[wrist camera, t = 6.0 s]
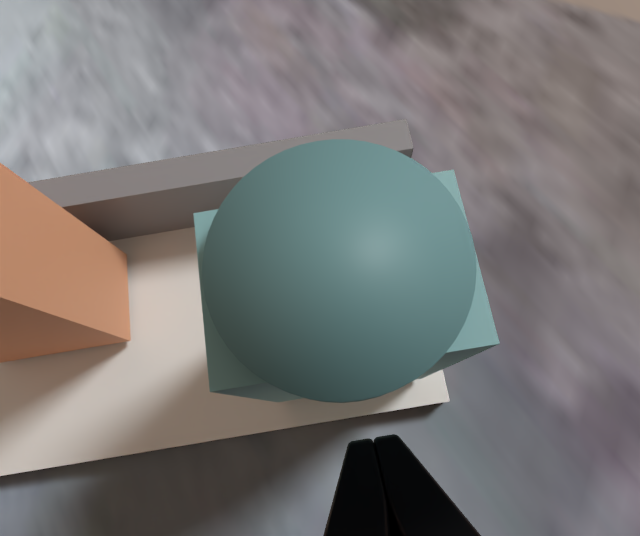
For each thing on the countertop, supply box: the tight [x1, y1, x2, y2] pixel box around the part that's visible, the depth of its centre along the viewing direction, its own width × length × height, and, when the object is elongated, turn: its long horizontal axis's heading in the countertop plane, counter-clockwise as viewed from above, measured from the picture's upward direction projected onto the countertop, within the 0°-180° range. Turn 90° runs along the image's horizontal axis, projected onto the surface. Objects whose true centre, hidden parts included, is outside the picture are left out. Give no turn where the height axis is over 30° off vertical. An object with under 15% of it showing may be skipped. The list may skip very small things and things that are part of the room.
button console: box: [0, 119, 450, 476], centre depth 15 cm, size 8×15×4 cm, turn 99°
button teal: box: [193, 139, 500, 403], centre depth 11 cm, size 4×4×9 cm
